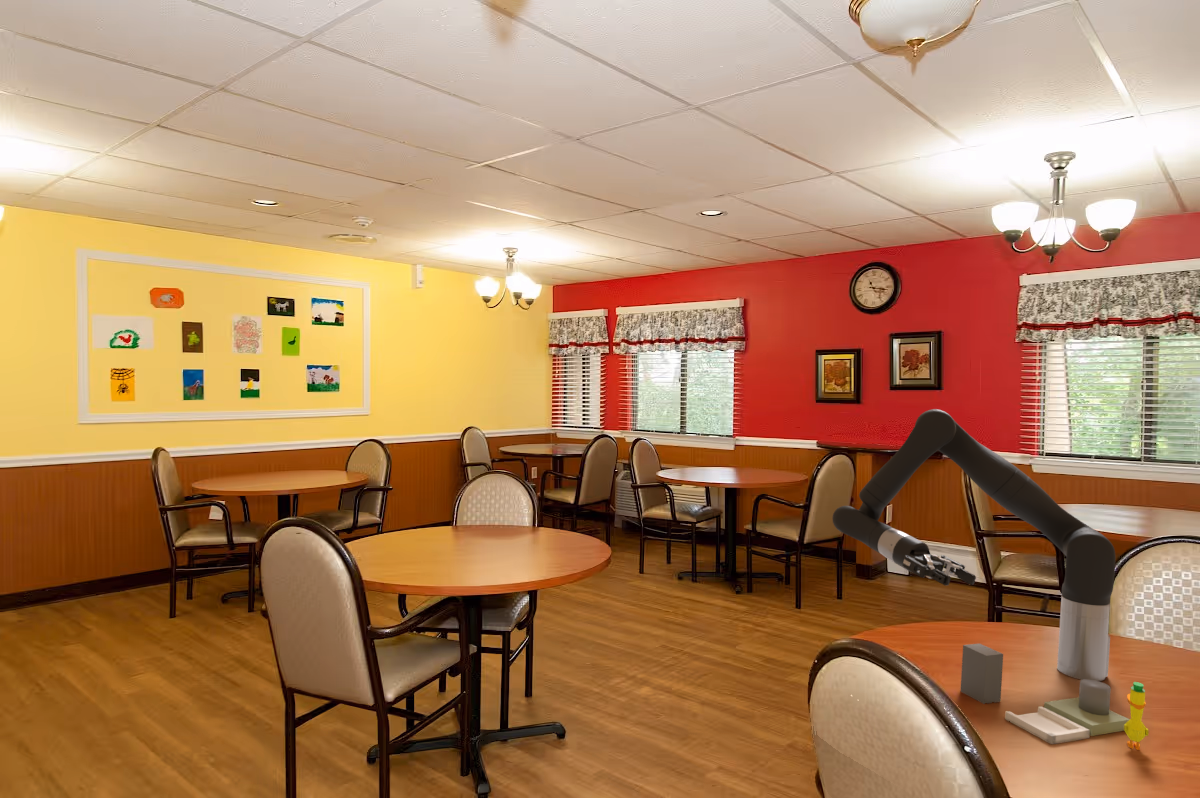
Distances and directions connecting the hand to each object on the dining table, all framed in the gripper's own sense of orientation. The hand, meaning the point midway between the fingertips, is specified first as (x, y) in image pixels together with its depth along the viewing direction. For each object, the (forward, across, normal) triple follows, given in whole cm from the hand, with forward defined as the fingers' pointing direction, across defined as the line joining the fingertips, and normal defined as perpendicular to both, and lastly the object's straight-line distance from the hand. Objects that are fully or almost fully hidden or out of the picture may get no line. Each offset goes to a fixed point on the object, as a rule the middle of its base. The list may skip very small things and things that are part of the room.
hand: (961, 581), depth 159 cm
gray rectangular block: (+12, -1, +20) cm, 24 cm away
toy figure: (+36, +6, +15) cm, 40 cm away
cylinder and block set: (+26, +4, +17) cm, 32 cm away
